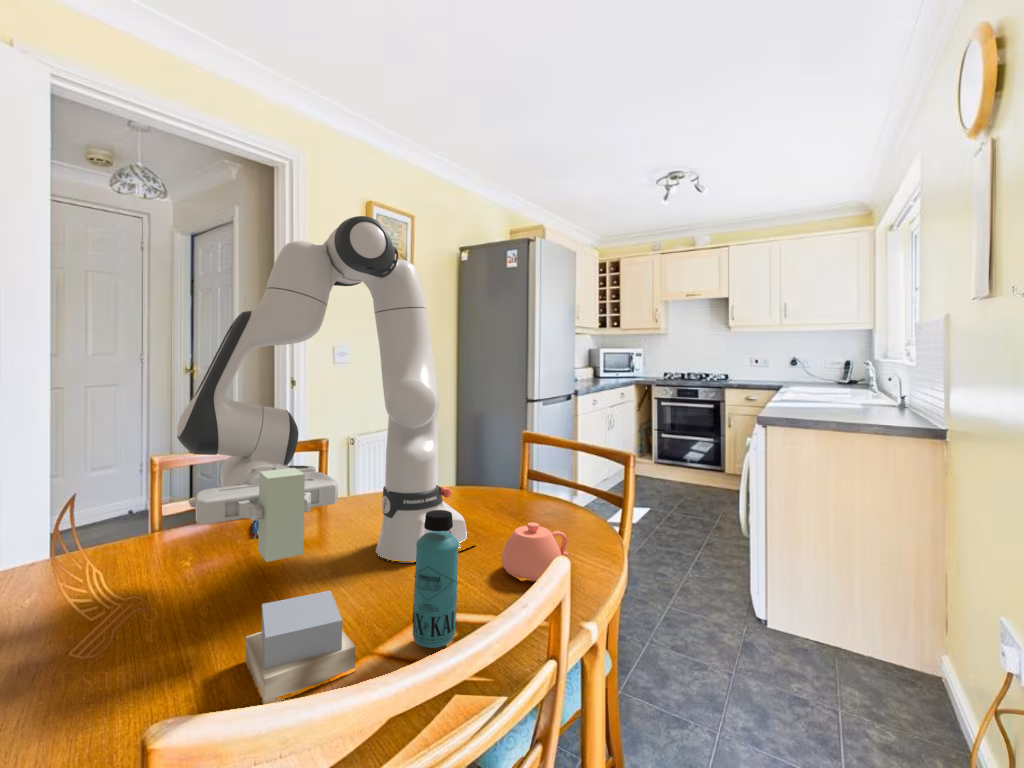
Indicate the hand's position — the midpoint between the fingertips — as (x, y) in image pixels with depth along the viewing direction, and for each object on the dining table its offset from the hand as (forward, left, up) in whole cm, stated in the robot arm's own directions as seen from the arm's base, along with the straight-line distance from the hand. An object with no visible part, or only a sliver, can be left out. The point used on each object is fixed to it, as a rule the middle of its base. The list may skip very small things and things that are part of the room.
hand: (283, 510), depth 69 cm
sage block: (0, -1, -6) cm, 7 cm away
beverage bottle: (-17, +15, -19) cm, 30 cm away
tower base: (0, +9, -20) cm, 21 cm away
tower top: (0, +9, -16) cm, 18 cm away
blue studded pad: (-11, -49, -20) cm, 54 cm away
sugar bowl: (-46, +6, -19) cm, 51 cm away
